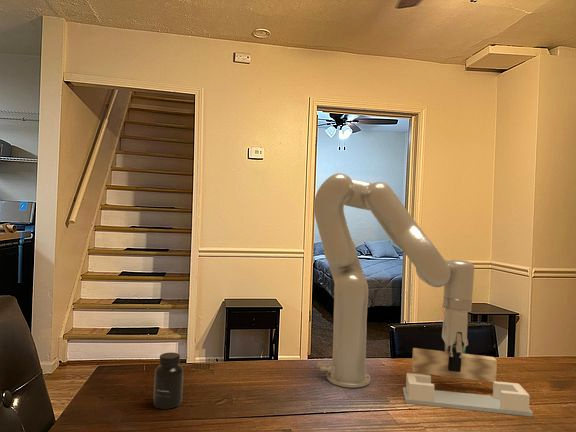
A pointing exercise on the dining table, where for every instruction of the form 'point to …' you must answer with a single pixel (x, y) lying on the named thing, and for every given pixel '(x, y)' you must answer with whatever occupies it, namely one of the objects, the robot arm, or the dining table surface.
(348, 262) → the robot arm
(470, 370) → the slat
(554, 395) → the dining table surface
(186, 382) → the dining table surface
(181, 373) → the supplement bottle
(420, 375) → the frame
